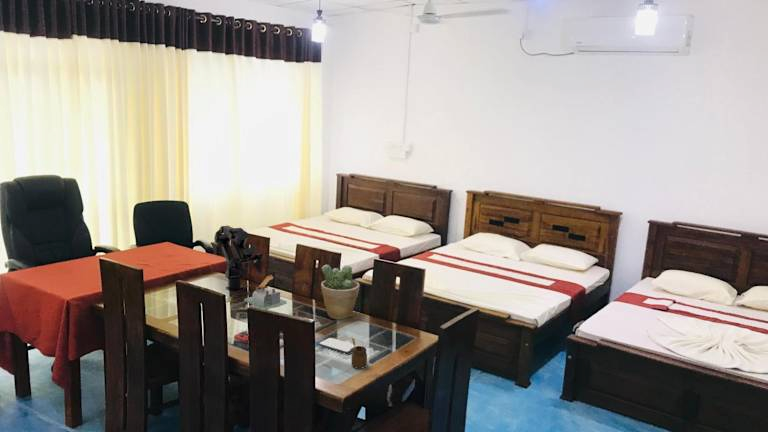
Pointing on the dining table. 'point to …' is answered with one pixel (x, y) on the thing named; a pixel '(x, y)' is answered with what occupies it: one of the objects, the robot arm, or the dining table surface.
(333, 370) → the dining table surface
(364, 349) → the utensil holder
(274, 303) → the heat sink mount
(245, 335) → the gaming console
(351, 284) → the potted plant
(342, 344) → the phone case
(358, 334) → the dining table surface
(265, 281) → the orange brown bar
